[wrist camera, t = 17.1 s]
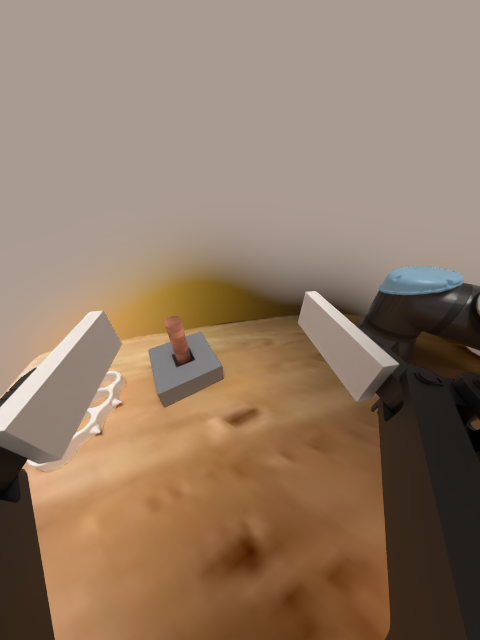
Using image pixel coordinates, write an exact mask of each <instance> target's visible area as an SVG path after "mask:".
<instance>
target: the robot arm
mask: <svg viewBox="0 0 480 640" xmlns="http://www.w3.org/2000/svg"><path fill="white" fill-rule="evenodd" d="M463 282H464V276H463V275H462V274H460V273H457V272H455V271H447V270H446V269H440V268H432V267H404V268H399V269H396V270H393V271H392V272H390V273H389V274H388V275H387V277H386V279H385V280H384V282H383V284H382V285H381V286H380V288H379V292H378V293H377V296H376V297H375V299H374V301H373V303H372V305H371V307H370V308H369V310H368V312H367V314H366V316H365V318H364V319H363V320H362V321H360V322H359V323H358V324H357V325H356V326H355V325H354V324H353V323H352V322H350V321H349V320H348V319H347V318H346V317H345V316H344V315H342V314H341V313H340V312H339V311H338V310H337V309H335V308H334V307H333V306H332V305H331V304H330V303H329V302H327V301H326V300H325V299H324V298H323V297H322V296H321V295H319V294H318V293H317V292H316V291H312V292H306V293H305V297H304V301H303V305H302V309H301V313H300V317H299V321H298V324H299V325H300V326H301V328H302V329H303V330H304V332H305V333H306V334H307V336H308V337H309V338H310V340H311V341H312V343H313V344H314V345H315V347H316V348H317V349H318V351H319V352H320V353H321V355H322V356H323V357H324V359H325V360H326V362H327V363H328V364H329V366H330V367H331V368H332V370H333V371H334V372H335V374H336V375H337V376H338V378H339V379H340V381H341V382H342V383H343V385H344V386H345V387H346V389H347V390H348V391H349V393H350V394H351V395H352V397H353V398H354V400H355V401H356V402H360V401H365V400H370V399H371V398H372V396H373V395H374V394H375V393H376V394H377V395H378V396H379V397H380V399H379V400H378V401H377V402H376V403H375V404H374V405H373V406H372V408H371V411H372V412H374V411H375V410H376V409H377V407H378V412H377V414H378V416H379V433H380V449H381V466H382V483H383V500H384V516H385V533H386V550H387V567H388V583H389V600H390V630H389V633H388V635H387V637H386V639H385V640H480V429H479V430H476V429H474V428H473V427H472V425H471V424H470V423H471V422H473V421H475V420H477V419H478V418H479V419H480V374H476V373H471V372H465V373H463V374H461V375H460V376H459V377H458V378H456V379H450V378H442V377H439V376H438V375H437V374H435V373H433V372H432V371H430V370H427V369H425V368H423V367H418V366H409V365H408V364H407V363H408V362H409V361H410V360H411V358H412V355H413V350H414V346H415V341H416V338H417V337H418V336H419V334H420V333H421V332H422V331H424V332H427V333H430V334H433V335H436V336H439V337H442V338H445V339H448V340H451V341H453V342H456V343H459V344H462V345H465V346H468V347H471V348H474V349H477V350H480V286H477V285H471V284H466V283H463ZM121 345H122V343H121V341H120V339H119V337H118V336H117V334H116V332H115V330H114V328H113V327H112V325H111V323H110V322H109V320H108V318H107V316H106V314H105V313H104V311H94V312H89V313H88V314H87V315H86V316H85V317H84V318H83V319H82V321H81V322H80V323H79V324H78V325H77V326H76V327H75V328H74V329H73V330H72V331H71V332H70V333H69V334H68V335H67V336H66V338H65V339H64V340H63V341H62V342H61V343H60V344H59V345H58V346H57V347H56V348H55V349H54V350H53V351H52V352H51V354H50V355H49V356H48V357H47V358H46V359H45V360H44V361H43V362H42V363H41V364H40V365H39V366H38V367H37V368H34V369H33V370H31V371H30V372H28V373H27V374H26V375H24V376H23V377H21V378H20V379H19V380H18V381H17V382H16V383H15V384H14V385H13V386H12V387H11V388H10V389H9V390H10V391H9V392H6V393H5V394H4V396H3V397H2V398H1V399H0V640H55V638H54V632H53V626H52V620H51V614H50V608H49V602H48V596H47V590H46V584H45V578H44V572H43V566H42V560H41V554H40V548H39V542H38V536H37V530H36V524H35V518H34V512H33V506H32V500H31V494H30V488H29V482H28V476H27V472H26V471H25V469H22V467H23V466H24V464H25V463H26V461H27V460H30V461H33V462H35V463H37V464H43V463H48V462H53V461H58V460H61V459H62V457H63V455H64V453H65V452H66V450H67V448H68V446H69V444H70V442H71V440H72V438H73V436H74V434H75V432H76V431H77V429H78V427H79V425H80V423H81V421H82V419H83V417H84V415H85V413H86V411H87V410H88V408H89V406H90V404H91V402H92V400H93V398H94V396H95V394H96V392H97V390H98V389H99V387H100V385H101V383H102V381H103V379H104V377H105V375H106V373H107V371H108V370H109V368H110V366H111V364H112V362H113V360H114V358H115V356H116V354H117V352H118V350H119V349H120V347H121Z"/></svg>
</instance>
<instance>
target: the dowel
mask: <svg viewBox="0 0 480 640" xmlns="http://www.w3.org/2000/svg"><path fill="white" fill-rule="evenodd" d="M165 326H166V329H167V332H168V335H169V338H170V341H171V344H172V347H173V350H174V353H175V356H176V359H177V362H178V365H179V366H182V365H184V364H187V363H189V362H192V360H191V357H190V353H189V349H188V345H187V341H186V337H185V333H184V329H183V325H182V321H181V319H180V317H177V316H174V317H169V318H167V319H166V320H165Z"/></svg>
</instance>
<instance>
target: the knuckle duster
mask: <svg viewBox="0 0 480 640" xmlns="http://www.w3.org/2000/svg"><path fill="white" fill-rule="evenodd" d="M111 381H114V382H113V383H112V384H111V385H109V386H107V387H104V388H102V387H103V386H104V385H105V384H106V383H108V382H111ZM125 387H126V382H125V380H124V379H123V377H122V376H121V374H120V373H119V372H117V371H109V372H107V373H106V375H105V377H104V379H103V381H102V383H101V385H100V387H99V389H98V390H97V392H96V394H95V396H94V398H93V400H92V402H91V404H90V406H89V408H88V410H87V411H86V413H85V415H84V417H83V419H82V421H83V420H84V419H86V418H91V419H90V421H89V423H88V424H87V425H86V426H85V427H84V428H83V429H82V430H80V431H79V432H77V433H75V434H74V436H73V438H72V440H71V442H70V444H69V446H68V448H67V450H66V452H65V453H64V455H63V457H62V459H61V460H58V461H53V462H48V463H43V464H37V463H35V462H33V461H30V460H27V463H28V464H29V465H30V466H32V467H34V468H37V469H39V470H41V471H44V472H51V471H55V470H57V469H59V468H61V467H63V466H64V465H66V464H67V463H68V462H70V461H71V460H72V458H73V456H74V455H75V453H76V452H77V450H78V449H79V448H80V447H81V446H82V445H83V444H84V443H86V442H87V441H88V440H90V439H92V438H93V437H94V436H95V435H96V434H97V433H101V432H100V430H101V429H102V428H103V426H104V423H105V421H106V419H107V418H108V417H109V415H110V414H111V413H113V412H114V411H115V409H116V407H117V405H118V404H120V403H121V402H122V401H120V400H119V395H120V393H121V391H122V390H123V389H124V388H125ZM103 398H108V399H107V400H106V401H105V402H104V403H103V404H101V405H99V406H97V407H93V405H94V404H95V403H96V402H97V401H99V400H100V399H103ZM92 407H93V408H92Z"/></svg>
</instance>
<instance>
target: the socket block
mask: <svg viewBox="0 0 480 640" xmlns="http://www.w3.org/2000/svg"><path fill="white" fill-rule="evenodd" d="M186 341H187V345H188V349H189V353H190V357H191V360H192V362H189V363H187V364H184V365H182V366H179V365H178V362H177V359H176V356H175V353H174V350H173V347H172V344H171V342H169V343H166V344H163V345H160V346H157V347H155V348H152V349H149V350H148V351H149V356H150V361H151V365H152V370H153V375H154V380H155V385H156V389H157V394H158V396H159V398H160V400H161V402H162V404H163V406H164V407H167V406H169V405H171V404H173V403H175V402H177V401H179V400H181V399H183V398H185V397H187V396H189V395H191V394H193V393H195V392H197V391H199V390H202V389H204V388H206V387H208V386H210V385H212V384H214V383H216V382H218V381H220V380H222V379H223V369H222V365H221V363H220V361H219V360H218V358H217V356H216V355H215V353H214V352H213V350H212V348H211V347H210V345H209V344H208V342H207V340H206V339H205V337H204V335H203V334H202V332H198V333H195V334H192V335H189V336H187V337H186Z"/></svg>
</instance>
